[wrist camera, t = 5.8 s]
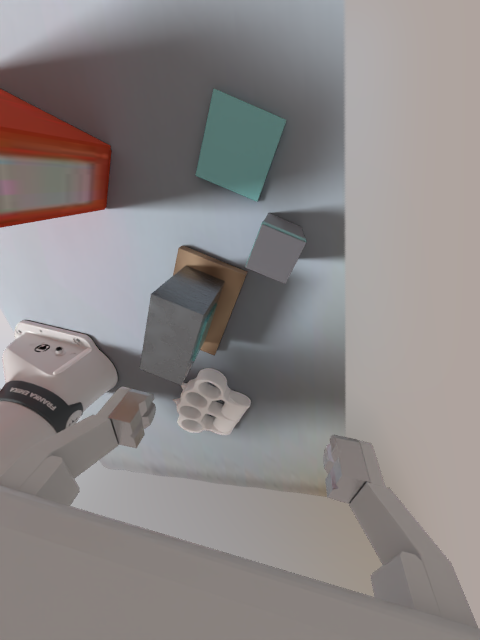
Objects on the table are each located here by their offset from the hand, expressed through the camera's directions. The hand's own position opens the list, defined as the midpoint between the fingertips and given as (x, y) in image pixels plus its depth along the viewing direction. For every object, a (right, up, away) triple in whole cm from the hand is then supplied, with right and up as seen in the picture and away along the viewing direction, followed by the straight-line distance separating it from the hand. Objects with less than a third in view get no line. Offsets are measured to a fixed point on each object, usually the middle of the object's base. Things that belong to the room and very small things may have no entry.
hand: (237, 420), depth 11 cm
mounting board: (-6, +7, +27) cm, 29 cm away
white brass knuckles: (-6, -12, +40) cm, 42 cm away
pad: (0, +24, +16) cm, 29 cm away
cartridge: (+5, +15, +20) cm, 26 cm away
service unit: (-6, +6, +26) cm, 28 cm away
